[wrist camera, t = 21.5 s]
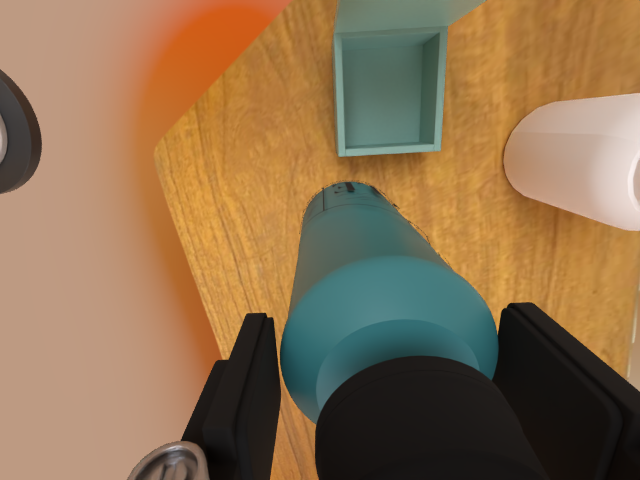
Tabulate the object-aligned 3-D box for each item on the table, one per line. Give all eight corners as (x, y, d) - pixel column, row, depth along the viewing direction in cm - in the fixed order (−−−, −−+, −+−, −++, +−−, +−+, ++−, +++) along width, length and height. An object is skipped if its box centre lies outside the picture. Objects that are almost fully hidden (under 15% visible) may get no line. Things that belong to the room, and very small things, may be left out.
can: (615, 149, 44) (835, 166, 25) (536, 216, 47) (681, 277, 28) (560, 78, 41) (762, 39, 23) (481, 154, 44) (600, 176, 26)
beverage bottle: (310, 268, 25) (285, 688, 6) (292, 181, 23) (177, 427, 4) (395, 254, 25) (637, 654, 6) (386, 165, 23) (711, 353, 4)
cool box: (423, 147, 44) (440, 151, 38) (335, 152, 44) (338, 157, 38) (427, 39, 40) (448, 22, 34) (331, 45, 40) (333, 30, 34)
